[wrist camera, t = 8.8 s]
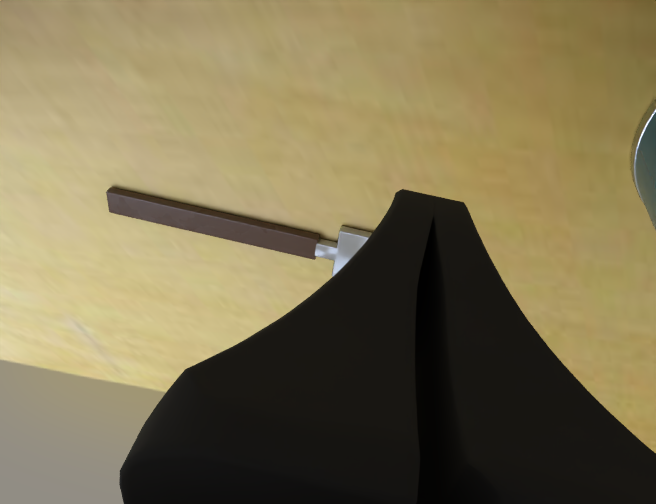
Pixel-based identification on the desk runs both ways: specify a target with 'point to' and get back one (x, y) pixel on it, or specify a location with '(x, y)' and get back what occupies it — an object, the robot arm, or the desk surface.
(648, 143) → the tin can
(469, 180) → the desk surface
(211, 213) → the fork
